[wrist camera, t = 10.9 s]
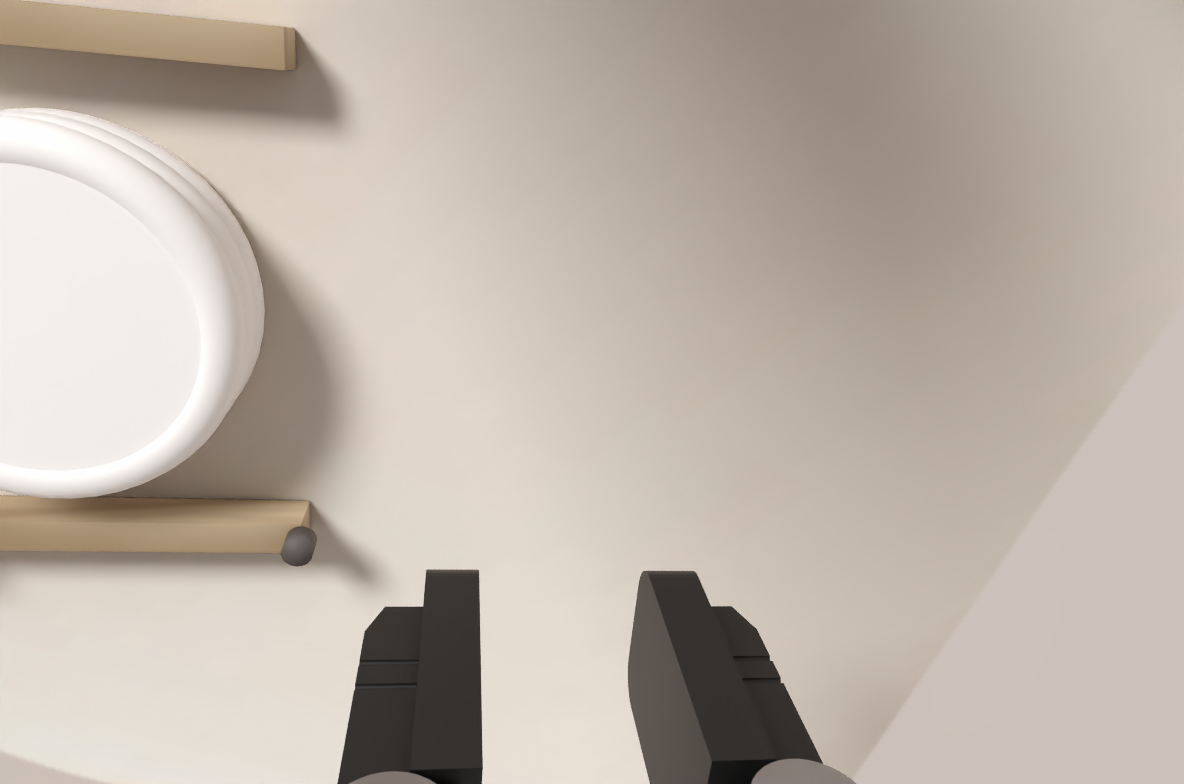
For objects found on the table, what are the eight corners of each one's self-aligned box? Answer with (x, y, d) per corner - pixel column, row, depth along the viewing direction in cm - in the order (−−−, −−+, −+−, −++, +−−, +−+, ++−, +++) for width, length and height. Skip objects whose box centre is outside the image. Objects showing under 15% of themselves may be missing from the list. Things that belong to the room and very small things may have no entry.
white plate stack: (-51, 30, 21) (-143, 28, 18) (325, 221, 24) (302, 248, 21) (-157, 361, 24) (-254, 411, 21) (194, 498, 27) (156, 559, 24)
